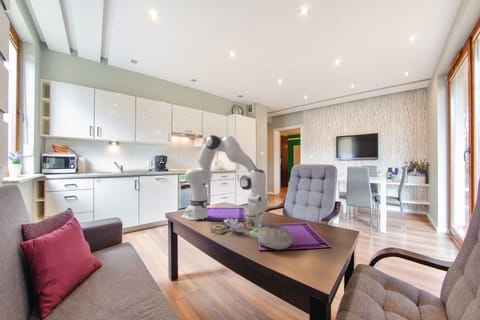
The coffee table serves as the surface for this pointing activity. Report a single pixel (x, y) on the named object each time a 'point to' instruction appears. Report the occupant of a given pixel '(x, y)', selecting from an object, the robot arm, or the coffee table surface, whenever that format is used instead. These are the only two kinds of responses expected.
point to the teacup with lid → (251, 221)
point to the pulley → (227, 222)
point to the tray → (254, 233)
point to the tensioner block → (218, 229)
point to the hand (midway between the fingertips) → (259, 219)
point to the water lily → (234, 225)
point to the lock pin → (260, 221)
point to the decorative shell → (275, 237)
